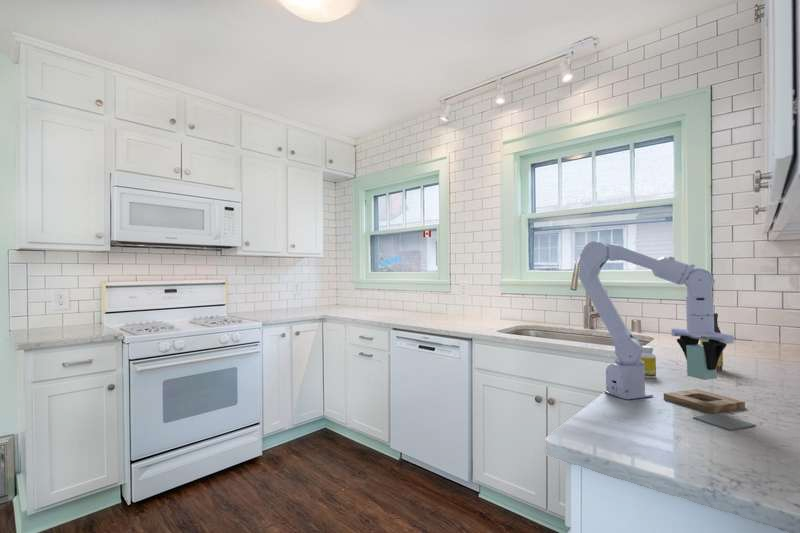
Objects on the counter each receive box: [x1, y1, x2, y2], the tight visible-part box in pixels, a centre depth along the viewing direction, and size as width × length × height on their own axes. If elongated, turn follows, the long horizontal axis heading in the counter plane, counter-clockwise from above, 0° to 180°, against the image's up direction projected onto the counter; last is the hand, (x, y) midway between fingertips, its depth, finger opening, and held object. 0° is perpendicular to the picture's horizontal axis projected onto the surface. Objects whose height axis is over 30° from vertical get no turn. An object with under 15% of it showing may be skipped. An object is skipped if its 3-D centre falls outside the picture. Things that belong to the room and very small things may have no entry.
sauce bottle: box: [699, 312, 724, 372], centre depth 142 cm, size 7×6×20 cm
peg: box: [686, 343, 718, 381], centre depth 104 cm, size 4×4×8 cm
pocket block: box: [663, 388, 746, 414], centre depth 104 cm, size 12×12×2 cm
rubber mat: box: [692, 412, 757, 431], centre depth 90 cm, size 8×8×1 cm
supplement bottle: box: [641, 345, 657, 379], centre depth 132 cm, size 5×5×10 cm
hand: (701, 367), depth 104 cm, fingers closed on peg, 4 cm apart
